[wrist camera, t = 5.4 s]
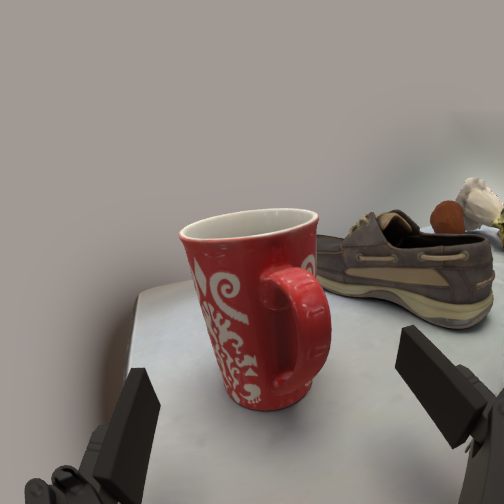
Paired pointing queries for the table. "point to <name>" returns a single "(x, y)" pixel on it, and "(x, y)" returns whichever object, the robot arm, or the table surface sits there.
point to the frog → (481, 207)
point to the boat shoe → (410, 268)
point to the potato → (448, 218)
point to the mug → (261, 302)
